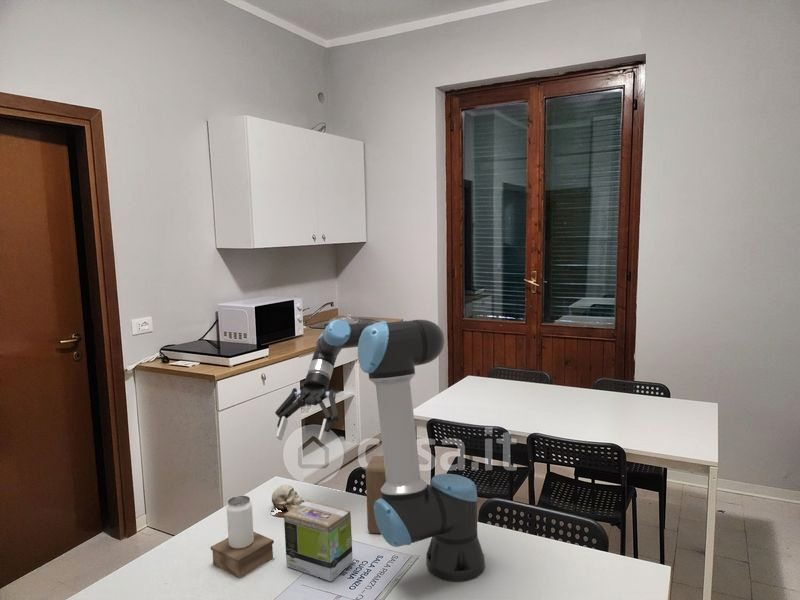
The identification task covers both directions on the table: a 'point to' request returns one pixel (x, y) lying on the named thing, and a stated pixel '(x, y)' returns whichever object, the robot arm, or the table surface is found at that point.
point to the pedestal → (242, 555)
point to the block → (374, 489)
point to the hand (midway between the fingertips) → (299, 440)
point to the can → (240, 522)
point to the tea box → (318, 539)
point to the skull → (285, 499)
